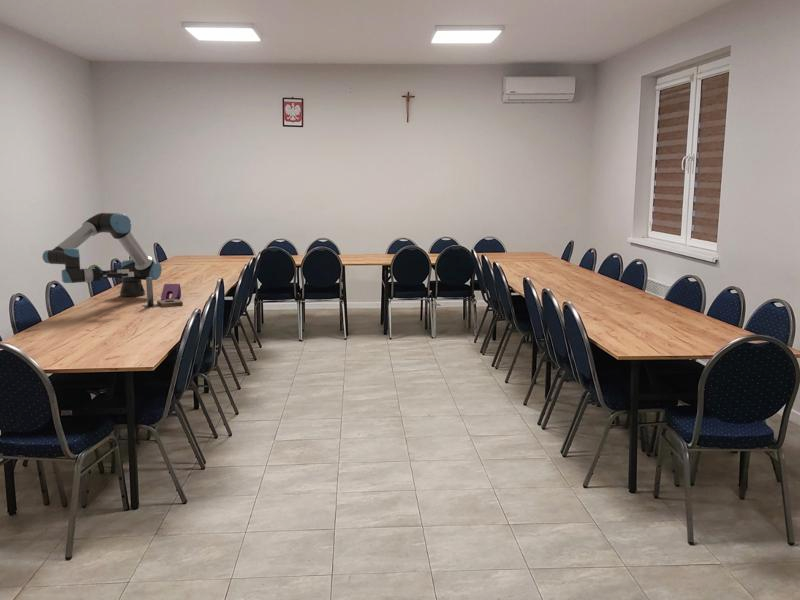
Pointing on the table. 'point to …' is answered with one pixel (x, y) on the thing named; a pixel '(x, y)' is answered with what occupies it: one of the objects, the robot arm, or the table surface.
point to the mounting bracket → (171, 291)
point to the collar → (170, 303)
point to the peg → (149, 291)
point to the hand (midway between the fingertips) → (131, 272)
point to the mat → (150, 307)
